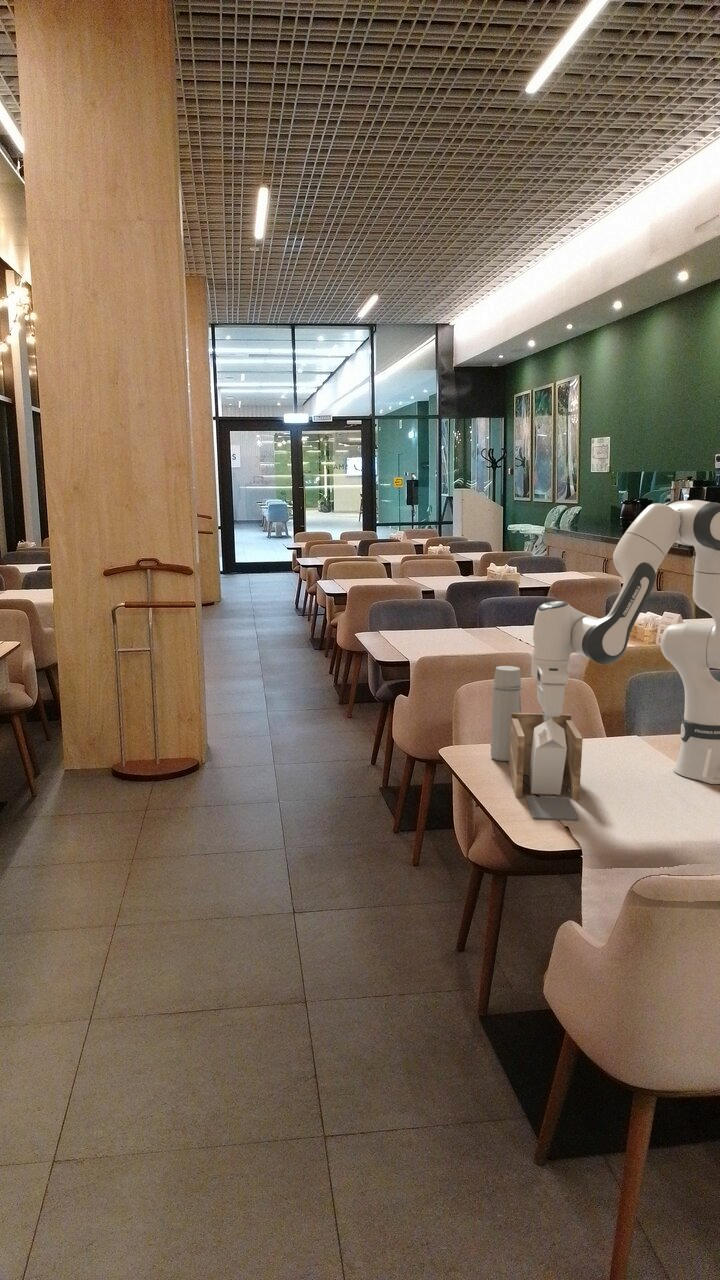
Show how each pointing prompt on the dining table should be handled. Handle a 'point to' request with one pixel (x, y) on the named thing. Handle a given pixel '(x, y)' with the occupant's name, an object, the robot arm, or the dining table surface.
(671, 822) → the dining table surface
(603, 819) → the dining table surface
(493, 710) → the water bottle
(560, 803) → the mat
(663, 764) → the dining table surface
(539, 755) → the milk carton
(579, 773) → the shelf bay
